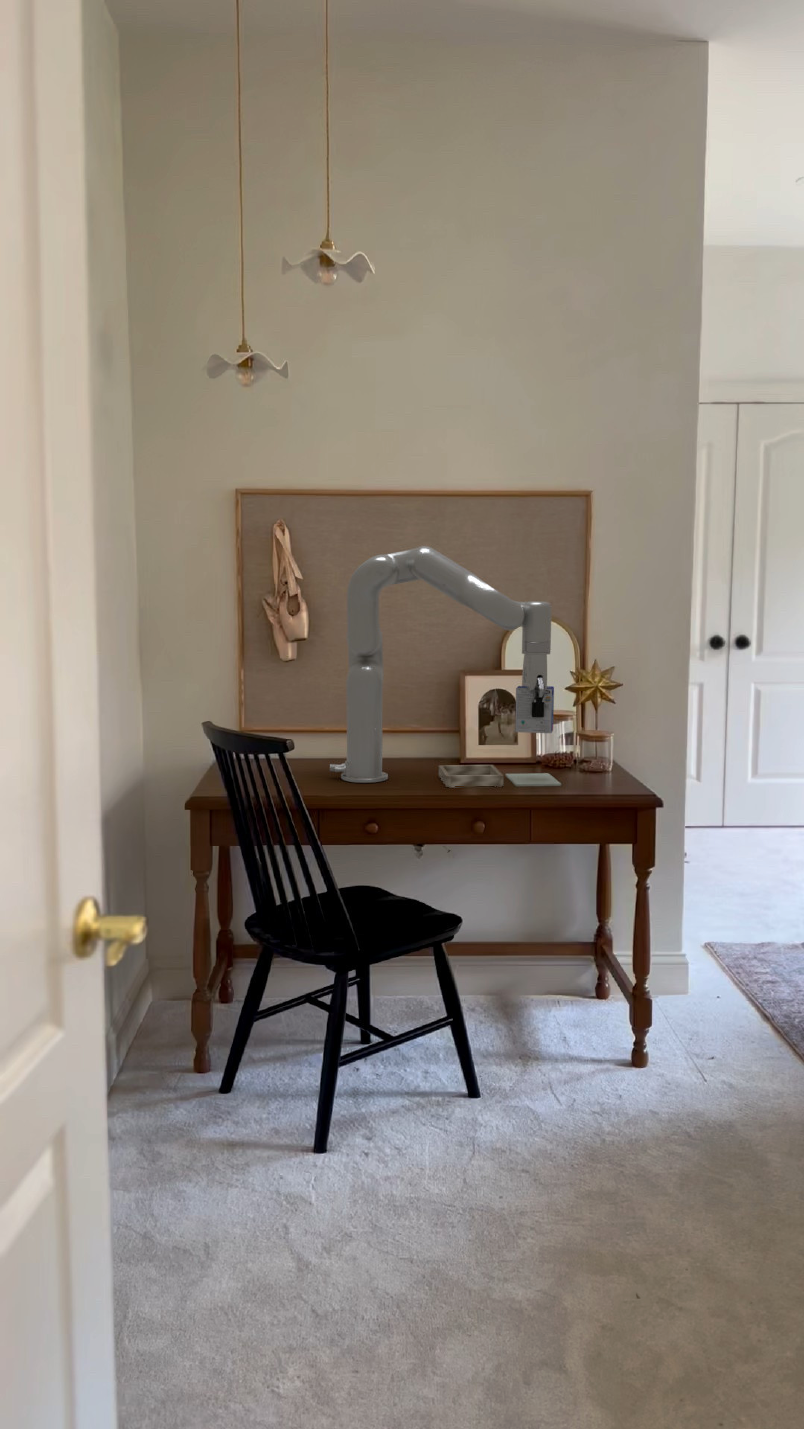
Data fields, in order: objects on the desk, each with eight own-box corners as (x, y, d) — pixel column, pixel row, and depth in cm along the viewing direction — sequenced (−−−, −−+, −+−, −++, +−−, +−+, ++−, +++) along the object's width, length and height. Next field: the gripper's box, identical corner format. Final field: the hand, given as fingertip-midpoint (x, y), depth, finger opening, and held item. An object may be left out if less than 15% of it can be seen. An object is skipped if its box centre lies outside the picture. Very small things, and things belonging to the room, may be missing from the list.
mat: (516, 786, 287) (516, 784, 287) (505, 775, 301) (505, 773, 301) (560, 785, 289) (560, 783, 289) (548, 775, 302) (548, 773, 302)
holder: (446, 787, 285) (446, 776, 285) (438, 776, 300) (438, 765, 299) (503, 786, 287) (503, 775, 286) (492, 775, 301) (492, 764, 301)
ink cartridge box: (553, 731, 295) (555, 677, 293) (552, 734, 289) (553, 679, 287) (516, 729, 297) (517, 676, 295) (514, 732, 291) (515, 678, 289)
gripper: (515, 645, 298) (514, 711, 301) (529, 651, 281) (527, 720, 284) (542, 645, 299) (541, 710, 301) (558, 650, 282) (556, 719, 284)
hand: (534, 714), depth 292 cm, fingers closed on ink cartridge box, 6 cm apart
